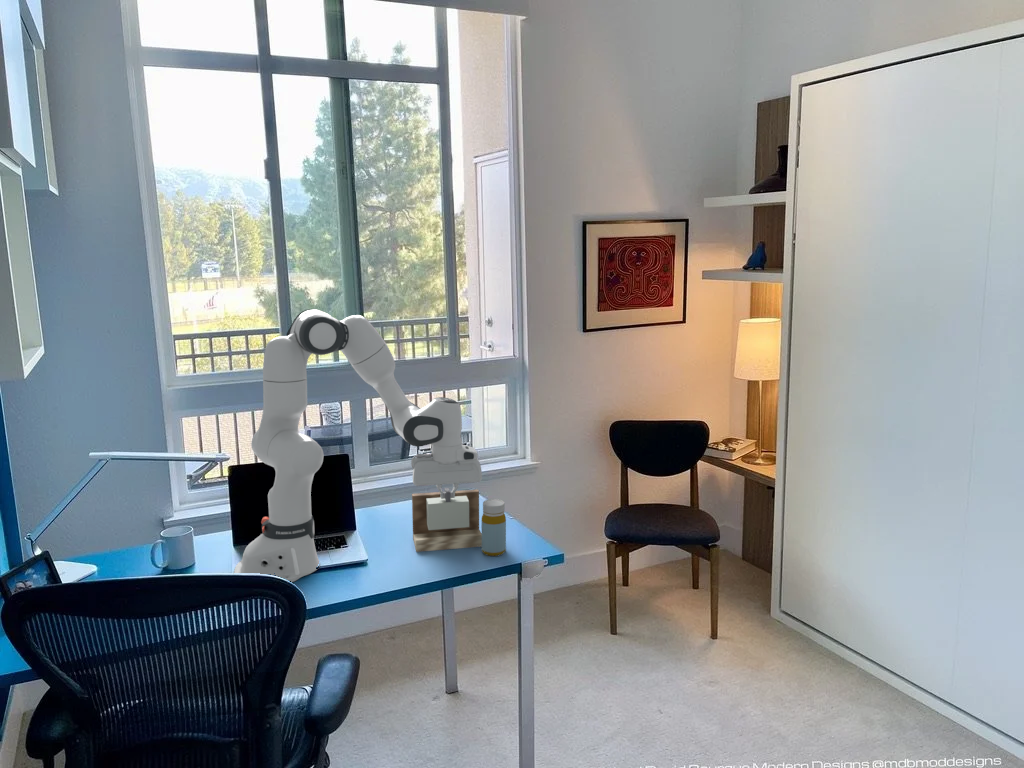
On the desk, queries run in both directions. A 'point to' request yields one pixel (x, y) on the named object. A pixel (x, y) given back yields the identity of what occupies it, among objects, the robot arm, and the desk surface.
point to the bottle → (493, 527)
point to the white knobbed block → (447, 512)
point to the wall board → (445, 537)
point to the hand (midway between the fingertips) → (447, 497)
